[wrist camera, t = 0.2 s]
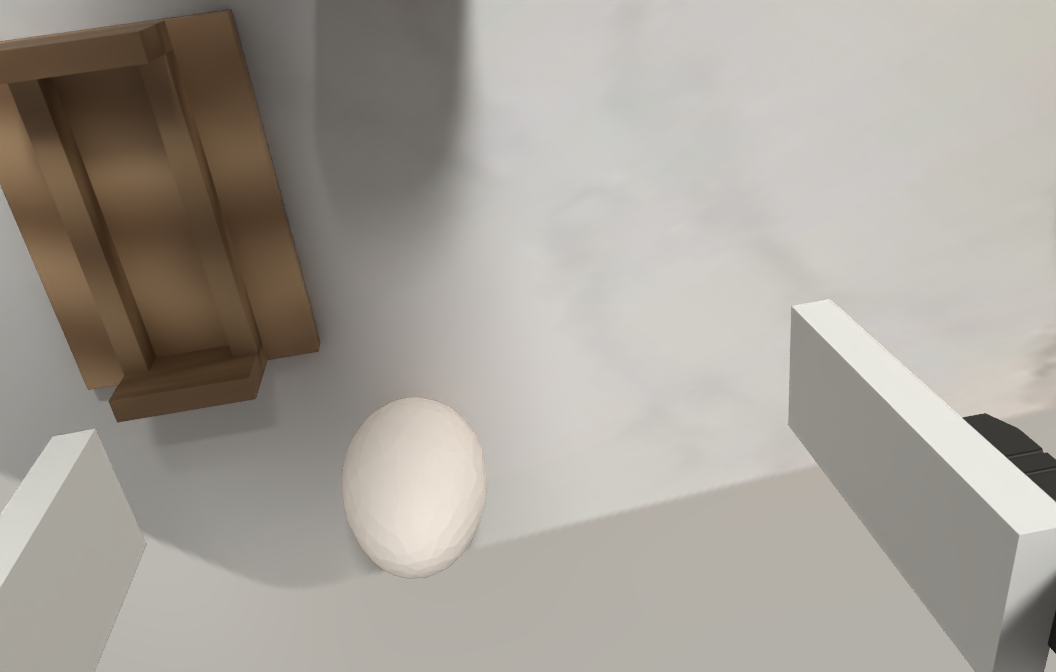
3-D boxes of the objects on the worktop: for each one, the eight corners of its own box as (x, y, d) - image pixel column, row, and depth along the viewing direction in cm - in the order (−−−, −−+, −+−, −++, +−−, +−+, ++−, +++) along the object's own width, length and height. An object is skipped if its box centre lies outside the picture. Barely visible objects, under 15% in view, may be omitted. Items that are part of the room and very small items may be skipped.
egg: (338, 465, 49) (321, 615, 38) (359, 355, 46) (347, 485, 35) (462, 481, 50) (478, 629, 40) (490, 376, 47) (516, 506, 37)
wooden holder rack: (-46, 47, 36) (-108, 66, 32) (231, 9, 37) (208, 21, 33) (94, 380, 44) (59, 432, 40) (320, 342, 45) (311, 389, 40)
